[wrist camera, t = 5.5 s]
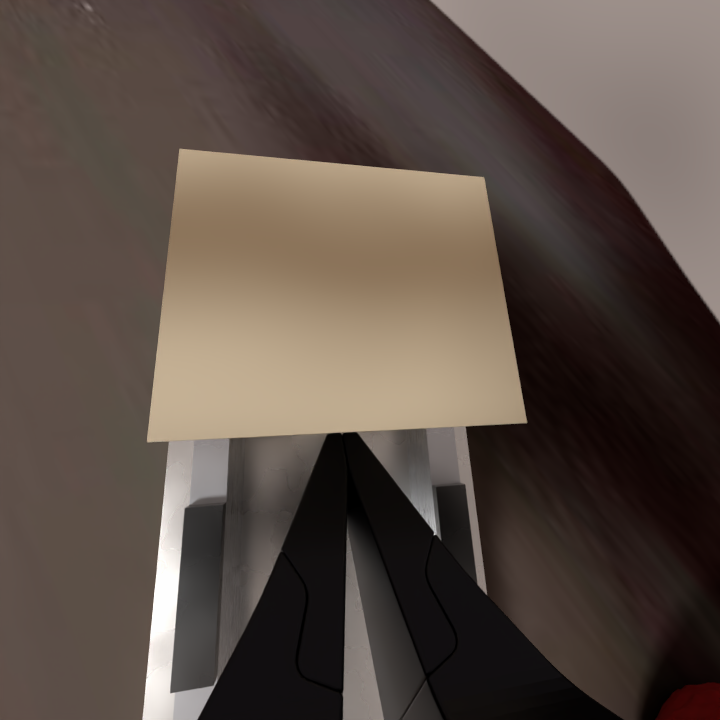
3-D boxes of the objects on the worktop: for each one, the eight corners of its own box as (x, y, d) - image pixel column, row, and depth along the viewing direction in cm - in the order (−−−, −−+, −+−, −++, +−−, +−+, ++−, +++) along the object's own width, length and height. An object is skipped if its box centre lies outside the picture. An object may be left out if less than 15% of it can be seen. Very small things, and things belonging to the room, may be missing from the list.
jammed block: (400, 429, 15) (527, 422, 6) (251, 437, 14) (146, 442, 5) (391, 314, 16) (484, 177, 8) (255, 313, 15) (179, 149, 6)
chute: (514, 865, 12) (602, 1051, 8) (125, 987, 10) (15, 1313, 6) (441, 276, 18) (473, 236, 14) (190, 267, 16) (154, 217, 12)
